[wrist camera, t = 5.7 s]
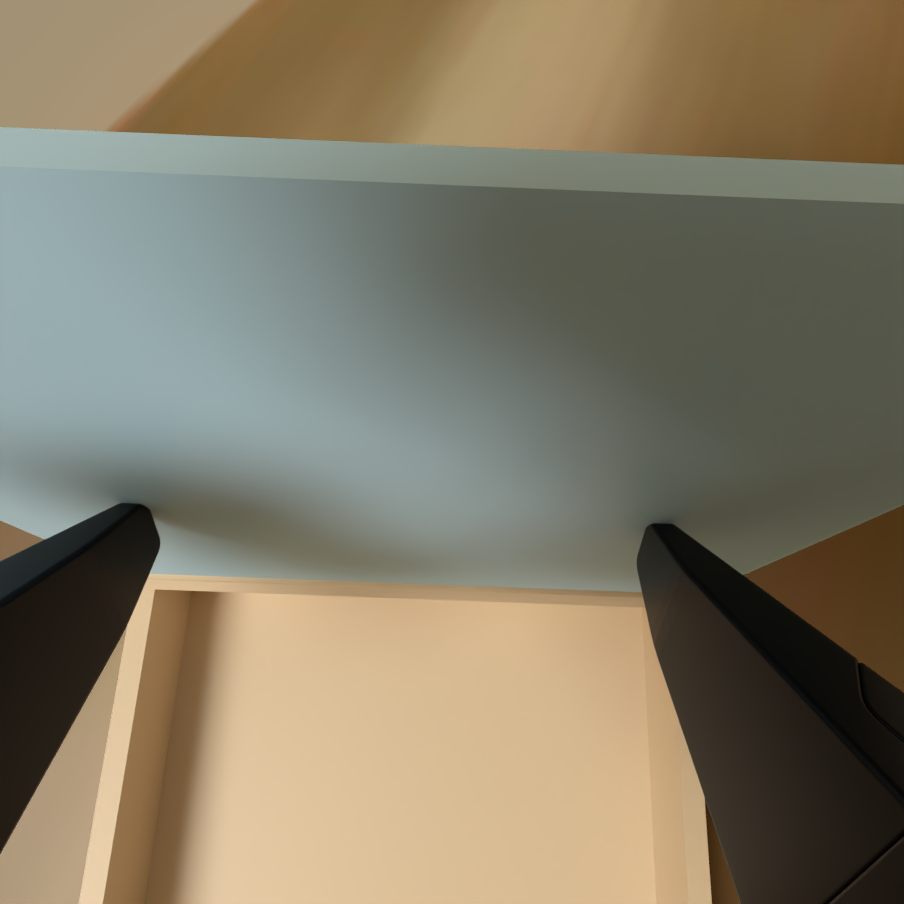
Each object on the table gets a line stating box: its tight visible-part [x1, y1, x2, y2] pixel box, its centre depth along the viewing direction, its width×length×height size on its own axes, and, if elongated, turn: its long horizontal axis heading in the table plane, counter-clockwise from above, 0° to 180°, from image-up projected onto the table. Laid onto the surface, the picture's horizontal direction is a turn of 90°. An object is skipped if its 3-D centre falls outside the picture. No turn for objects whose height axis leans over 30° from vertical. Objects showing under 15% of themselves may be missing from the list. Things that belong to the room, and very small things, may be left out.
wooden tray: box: [79, 579, 712, 904], centre depth 14 cm, size 13×16×2 cm
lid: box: [0, 127, 904, 598], centre depth 9 cm, size 12×16×1 cm
